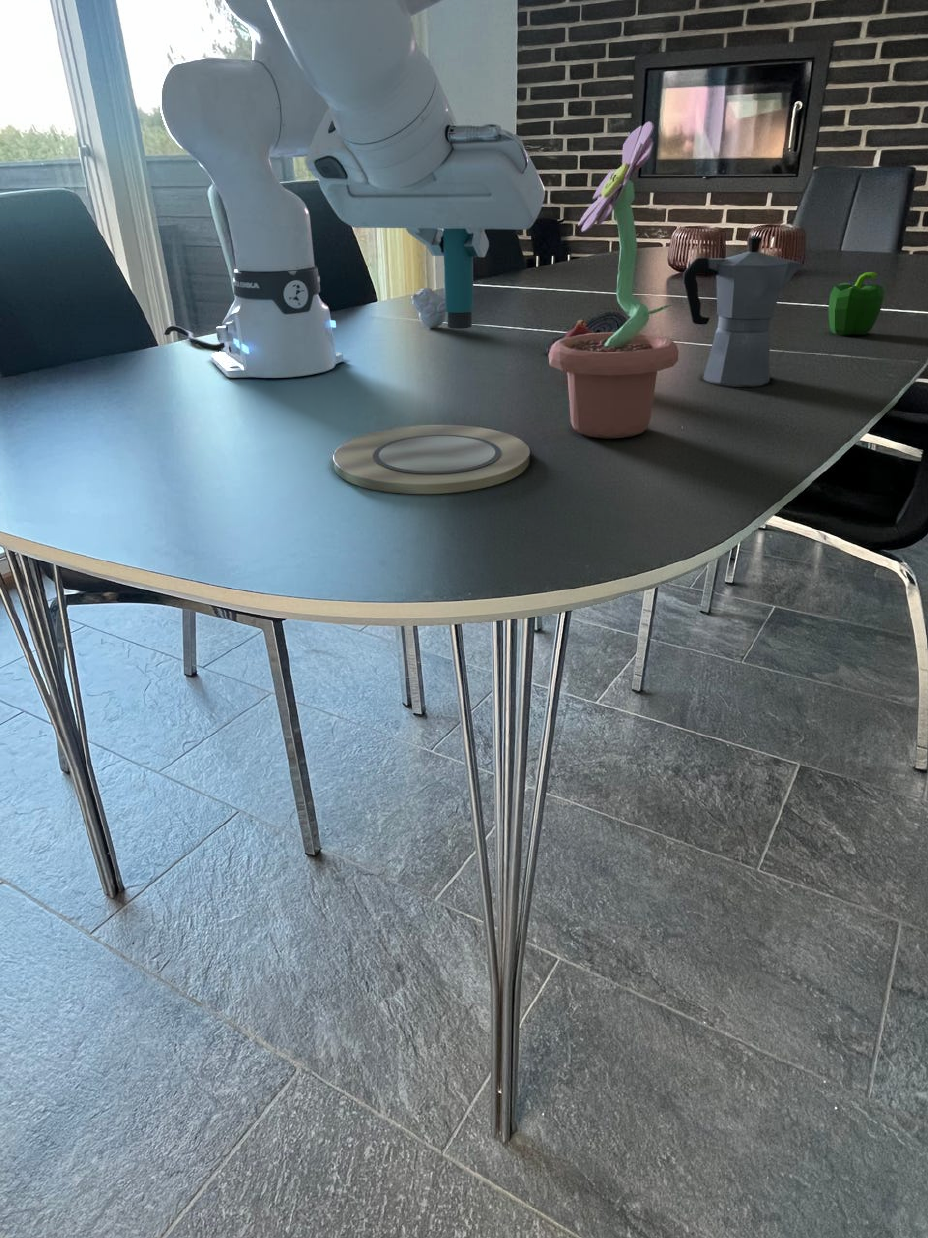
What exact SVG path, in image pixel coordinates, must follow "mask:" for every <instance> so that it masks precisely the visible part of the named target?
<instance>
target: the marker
mask: <svg viewBox="0 0 928 1238" xmlns="http://www.w3.org/2000/svg"><path fill="white" fill-rule="evenodd" d="M442 230H443V255H444V256H443V284H444V289H443V290H444V298H445V311H446V319H447V321H446V323H447V328H449V329H453V330H454V329H455V330H462V329H470V328H472V327H473V326H472V325H473V318H472V317H473V316H472V313H473V311H475V310H474V309H475V308H474V257H470V256H469V255H468V253H469V252H468V251H466V249H465V246H464V245H465V242H466V240H467V239H468V234H469V233H467V231H466V229H442Z"/></svg>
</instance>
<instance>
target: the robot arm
mask: <svg viewBox="0 0 928 1238" xmlns="http://www.w3.org/2000/svg"><path fill="white" fill-rule="evenodd" d="M442 1H443V0H222V2H223V4H224V6H225V7H226V9H227V10H228V11H229V13H230V14H232V16H234V18H235V19H237V21H239V22H240V23H241V24H242V25H244V26H245V27H246V28H248V30H249V33H250V36H251V41H252V59H249V60H248V59H238V58H237V59H236V58H221V57H202V58H196V59H191V60H185V61H182V62H177V63H174V64H173V65H171V66H170V67H169V69H168V70H167V72H166V73H165V75H164V78H163V80H162V83H161V87H160V92H159V93H160V94H159V105H160V106H159V107H160V113H161V116H162V120H163V122H164V125H165V127H166V129H167V131H168V133H169V135H170V137H171V138H172V139H173V140H174V141H175V143H176V144H177V145H178V146H179V147H180V148H181V149H182V150H184V152H186V153H188V154H189V155H190V156H191V157H192V158H193V159H194V160H195V161H196V162H197V163H198V164H199V165H200V166H201V167H202V168H203V170H204V171H205V172H206V174H207V175H208V177H209V178H210V180H211V181H212V183H213V185H214V187H215V188H216V190H217V192H218V195H219V196H220V198H221V201H222V203H223V207H224V210H225V214H226V216H227V222H228V227H229V231H230V236H231V243H232V249H233V255H234V261H235V269H234V271H233V273H232V274H233V279H232V285H233V295H234V296H235V297H234V301H233V303H232V304H231V306H230V308H229V310H228V312H227V314H226V316H225V317H224V319H223V321H222V323H221V325H222V326H216V328H215V333H216V338H217V341H218V343H210V342H206V341H203V340H201V339H199V338H196V337H195V335H194V334H195V333H193V332H192V331H190V330H188V329H185V328H183V327H181V326H177V325H169V326H168V327H167V328H166V329H165V330H164V333H163V335H165V336H170V335H171V333H172V332H175V333H176V332H177V333H179V334H182V335H184V336H185V337H187V338H188V341H189V342H190V343H191V344H194V345H196V346H199V347H200V348H204V349H208V350H209V349H210V350H216V351H217V352H215V353H212V354H211V362H212V363H213V364H214V365H215V366H216V367H217V368H218V369H219V370H220V371H221V372H222V373H223V374H224V375H225V376H226V377H228V378H233V379H234V378H235V379H236V378H261V379H268V378H269V379H278V378H279V379H280V378H281V379H283V378H284V379H285V378H295V377H305V376H312V375H315V374H321V373H324V372H328V371H330V370H332V369H334V368H335V367H336V365H337V364H339V363H342V362H344V354H343V353H341V352H337V349H336V344H335V343H336V342H335V337H334V331H333V328H337V323H336V320H334V319H333V320H332V318H331V314H330V312H331V311H330V308H329V306H328V305H327V304H326V303H325V302H323V301H322V299H321V298H320V296H319V293H320V292H321V285H320V282H321V278H320V277H321V276H320V275H319V268H318V267H317V266H316V265H315V255H314V245H313V236H312V235H313V234H312V225H311V215H310V212H309V209H308V207H307V205H306V203H305V202H304V200H303V199H302V198H300V197H299V195H297V194H295V193H294V192H292V191H291V190H289V189H287V188H285V187H284V186H283V184H281V182H280V180H279V179H278V177H277V176H276V173H275V171H274V168H273V165H272V162H271V158H305V160H304V164H305V166H306V168H307V170H308V171H309V172H310V174H311V175H312V176H313V177H315V178H316V179H318V185H319V188H320V190H321V192H322V193H323V195H324V197H325V199H326V200H327V203H328V204H329V205H330V207H331V209H332V210H333V211H334V213H335V214H336V215H337V217H338V219H340V220H341V221H342V222H343V223H345V224H347V225H348V226H350V227H352V228H356V229H405V230H406V232H407V233H408V234H409V235H410V236H412V237H413V238H415V239H416V240H417V241H419V242H420V243H422V244H423V245H424V246H426V247H427V249H428V252H429V253H430V255H431V256H432V257H444V255H443V229H466V231H467V233H469V234H468V239H467V240H466V242H465V245H464V246H465V249H466V251H468V252H469V253H468V255H469V256H470V257H473V258H485V257H486V255H487V252H488V250H489V249H490V248H489V247H490V241H489V239H488V236H487V234H486V232H485V231H486V230H529V229H531V227H533V225H534V223H536V220H537V219H538V216H540V215H539V214H540V212H541V210H542V207H543V204H544V201H545V196H546V190H545V186H544V184H543V182H542V179H541V177H540V175H539V172H538V171H537V168H536V167H535V165H534V163H533V161H532V159H531V157H530V156H529V154H528V152H527V150H526V148H525V145H524V143H523V141H522V139H521V137H520V136H519V135H518V134H516V133H513V132H510V131H509V130H506V129H502V127H501V125H499V124H498V123H497V124H496V123H486V124H483V125H469V124H465V125H464V124H463V125H461V124H460V125H458V124H457V121H456V117H455V115H454V113H453V111H452V108H451V106H450V104H449V101H448V99H447V97H446V94H445V92H444V90H443V87H442V85H441V83H440V80H439V78H438V76H437V74H436V71H435V69H434V67H433V65H432V63H431V61H430V59H429V58H428V56H426V54H425V53H424V51H422V50H421V49H420V46H419V45H418V43H417V39H416V37H415V36H416V35H415V28H414V22H413V19H412V16H415V15H416V14H418V13H420V12H423V11H424V10H426V9H428V8H430V7H432V6H435V5H436V4H438V3H440V2H442ZM223 349H224V350H223ZM218 350H223V351H219V352H218Z"/></svg>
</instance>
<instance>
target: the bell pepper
mask: <svg viewBox="0 0 928 1238" xmlns="http://www.w3.org/2000/svg"><path fill="white" fill-rule="evenodd" d="M876 277H878V273H877V272H875V271H867V272H864V273H863V274H861V275H859V276H858V279H857V280H856V282H855V284H854V285H853V284H851V283H849V282H841V283H840V284H837V285H834V287H832V290H831V292H830V295H829V302H828V324H829V326H828V327H829V331H830V332H831V333H833V334H835V335H840V336H845V337H846V336H862V335H867V334H868V333H869V332H871V330H872V329H873V327H874V325H875V323H876V321H877V319H878V317H879V315H880V313H881V310H882V305H883V301H884V297H885V289H884V286H883V285H880V284H865V283H864V281H865V279H868V278H869V279H872V280H875V279H876Z"/></svg>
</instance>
